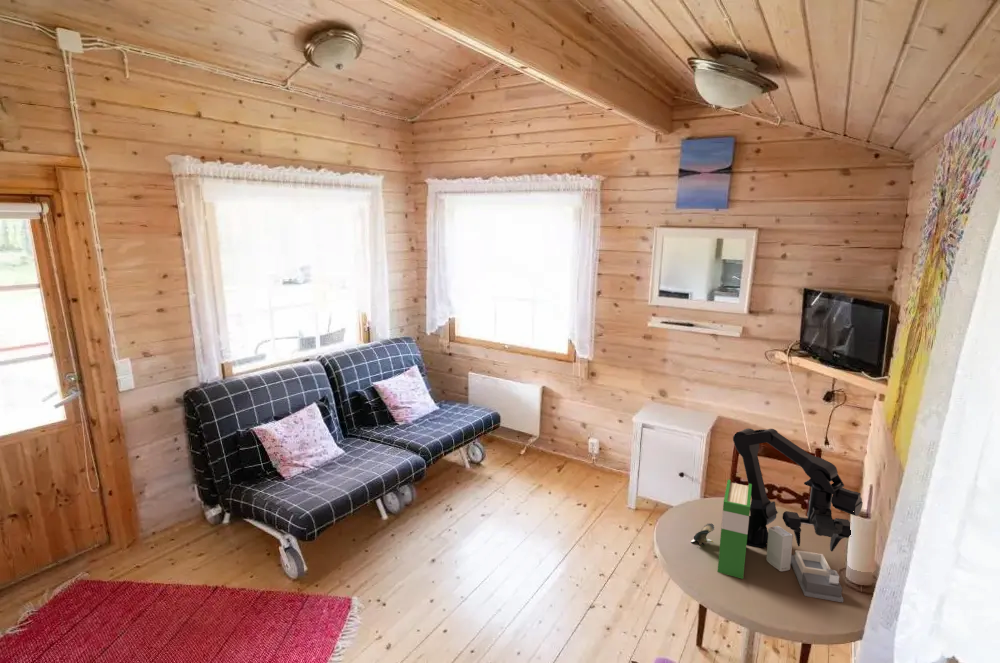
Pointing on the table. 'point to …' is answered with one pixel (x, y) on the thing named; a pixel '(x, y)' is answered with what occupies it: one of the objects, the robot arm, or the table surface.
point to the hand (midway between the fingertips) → (814, 548)
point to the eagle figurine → (703, 535)
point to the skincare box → (779, 548)
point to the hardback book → (734, 529)
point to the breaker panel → (814, 576)
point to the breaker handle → (832, 576)
